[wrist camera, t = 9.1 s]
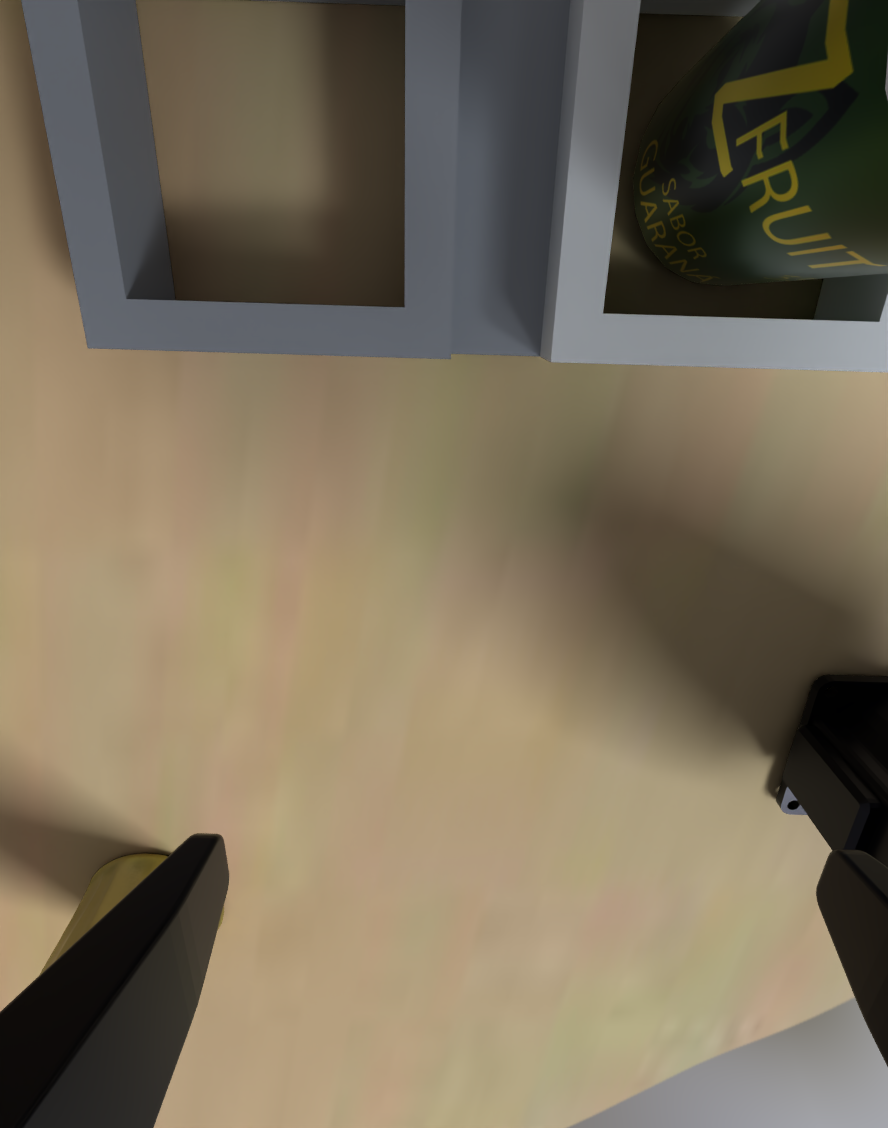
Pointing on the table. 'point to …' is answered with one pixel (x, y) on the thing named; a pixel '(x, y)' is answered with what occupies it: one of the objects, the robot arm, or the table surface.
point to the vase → (106, 896)
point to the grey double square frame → (424, 201)
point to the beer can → (774, 150)
